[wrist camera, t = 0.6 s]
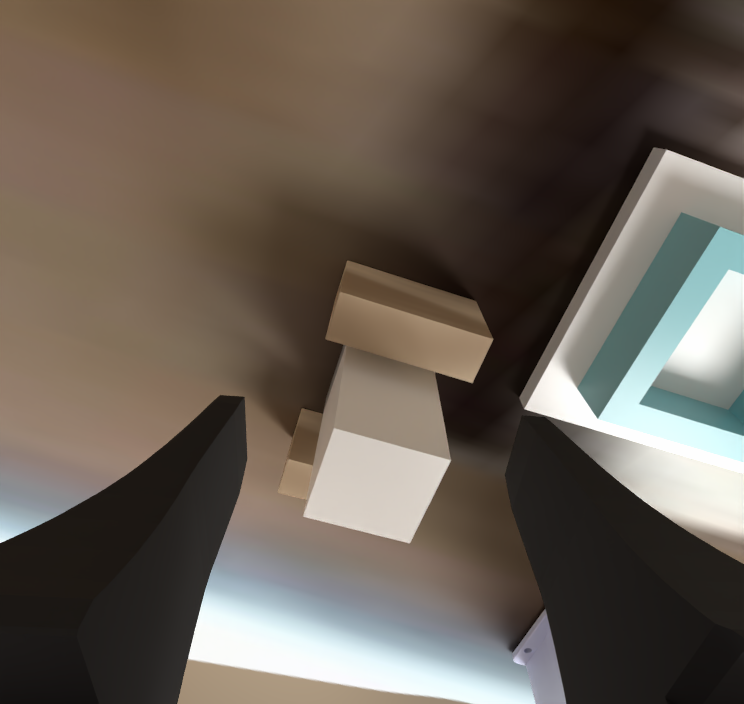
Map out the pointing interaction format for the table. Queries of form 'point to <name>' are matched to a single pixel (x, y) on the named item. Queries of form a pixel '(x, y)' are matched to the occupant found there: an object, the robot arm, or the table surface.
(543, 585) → the robot arm
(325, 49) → the table surface
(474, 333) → the wooden pieces
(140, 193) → the table surface
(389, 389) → the plug
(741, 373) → the port
